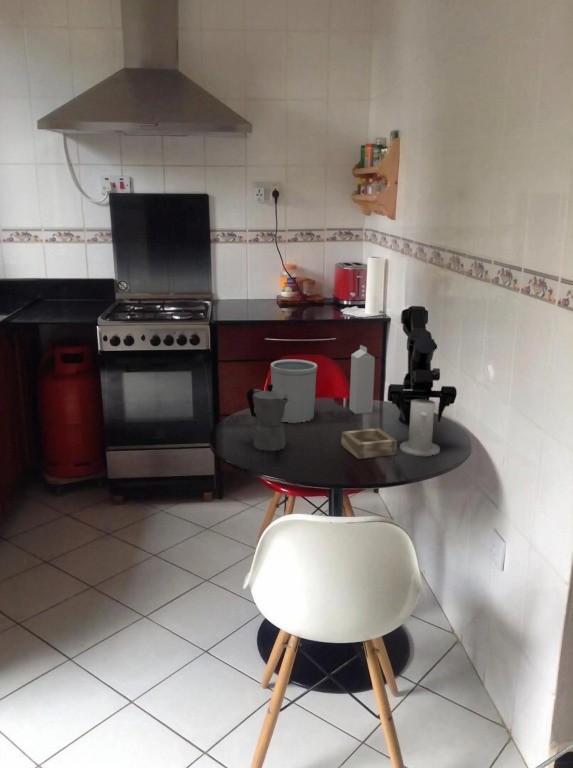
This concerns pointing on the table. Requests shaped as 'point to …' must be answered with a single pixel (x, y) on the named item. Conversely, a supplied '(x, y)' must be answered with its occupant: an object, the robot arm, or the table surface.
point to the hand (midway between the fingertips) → (422, 420)
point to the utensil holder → (295, 387)
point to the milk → (362, 381)
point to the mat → (433, 451)
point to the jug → (421, 424)
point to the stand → (369, 443)
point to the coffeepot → (268, 417)
